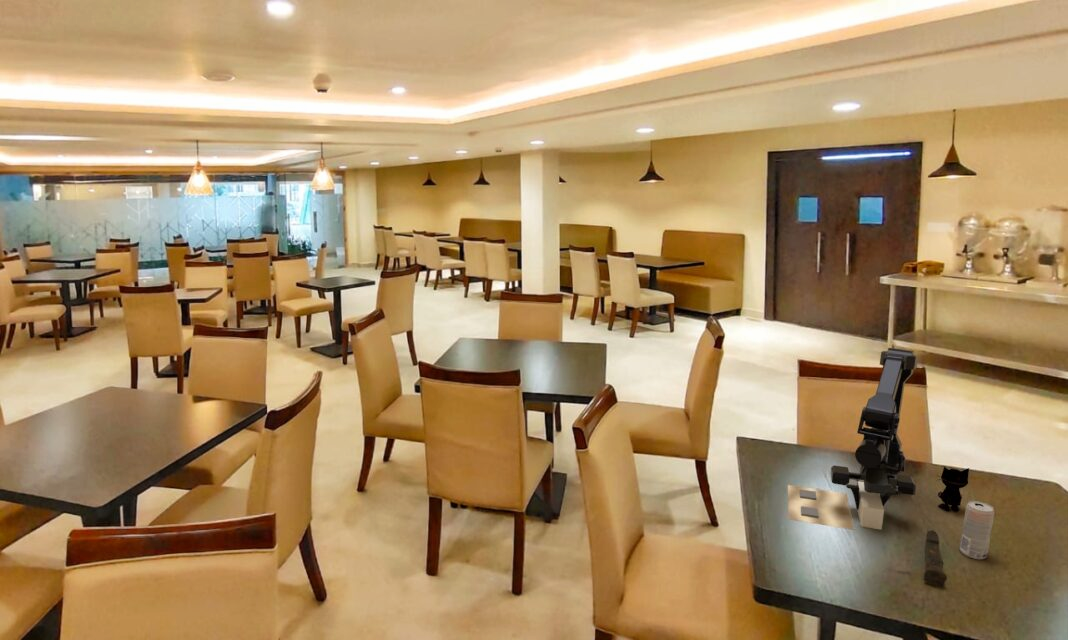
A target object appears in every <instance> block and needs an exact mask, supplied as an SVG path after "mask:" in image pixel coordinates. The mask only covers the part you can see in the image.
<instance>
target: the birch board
mask: <svg viewBox="0 0 1068 640" xmlns="http://www.w3.org/2000/svg"><path fill="white" fill-rule="evenodd" d="M800 489H801V490H808V491H815V492H816V500H811V499H804V498H800ZM787 503H788V509H787V510H788V520H792V521H797V522H803V523H809V524H816V525H821V526H828V527H834V528H838V529H847V530H852V531H855V527H854V521H853V517H852V516H853V515H852V511H851V508H850V502H849V497H848V494H847V493H844V492H839V491H830V490H825V489H818V488H812V487H811V488H810V487H804V486H798V485H792V484H791V485H790V484H787ZM801 506H803V507H810V508H816V509H818V516H819V517H818V518H814V517H807V516H801Z"/></svg>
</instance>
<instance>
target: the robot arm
mask: <svg viewBox="0 0 1068 640" xmlns="http://www.w3.org/2000/svg"><path fill="white" fill-rule="evenodd" d="M879 358H880V359H879V365H881V366H882V371H881V375H880V378H879V382H878V385H877V388H876V392H875V394H874V395H873V396H871V397H869V398H868V400H867V403H866V405H865V406H864V407H862V411H861V415H860V419H859V423H858V427H857V434H860V435H863V439H862V440H861V443H860V444H859V445H858V447H857V448H856V450H855V452H854V455H855V460H856V461H857V463H858V464H859V465H860V469H859V473H857V472H850V471H849V467H848V466H840V465H832V466H831V468H830V473H829V475H830V480H831V483H832V484H834V485H839V486H845V487H846V488H847V489H850V490H851V493H852V494H853V498H854V502H855V507H856V510H859V485H858V481H860V482H864V490H865V491H866V492H868V493H879V495H880V498H881V502H882V505H883V508H884V507H885V505H886V503H887V502H888V500H890V498H891V497H894V496H899V493H900V494H902V495H909V496H914V495H915V496H916V487H917V486H916V483H915V481H914V479H913V478H912V476H911V475H906V474H901V472H905V469H906V457H905V454H904V451H902V447H903V444H902V441H901V439H900V437H899V435H898V431H899V425H900V422H901V421H900V419H901V410H902V404H903V396H904V390H905V383H906V382H907V380H909V378H910V377H911V376H912V375H913V374H914V370H916V369H917V365H918V360H919V356H918V355H915V353H914V350H910V349H909V350H908V349H903V348H902V349H901V348H893V347H888V349H887V351H885V350H882V351H881V352H880V357H879ZM864 425H865V426H864Z"/></svg>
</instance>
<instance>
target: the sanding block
mask: <svg viewBox="0 0 1068 640" xmlns="http://www.w3.org/2000/svg"><path fill="white" fill-rule="evenodd" d="M858 485H859V510H857V509H856V510H857V515H858V519H859V523H860V526H861V527H863V528H869V529H874V530H875V529H876V530H882V529H883V522H884V513H885V509H884V507H883V505H882V502H881V498H880V494H879V493H868V492H866V491H865V490H864V482H860V481H858Z"/></svg>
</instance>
